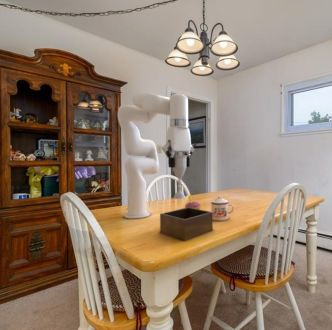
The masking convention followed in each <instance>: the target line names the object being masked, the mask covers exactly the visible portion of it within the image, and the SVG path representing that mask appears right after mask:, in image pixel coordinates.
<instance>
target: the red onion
mask: <svg viewBox="0 0 332 330" xmlns="http://www.w3.org/2000/svg"><path fill="white" fill-rule="evenodd" d="M189 201H190V202H187V203H186V204H185V206H184V208H187V207H189V208H194V209H199V210H201V208H202V207H201V206H202V205H201V204H200V203H199V202H198V201H192V195H191V194H189Z"/></svg>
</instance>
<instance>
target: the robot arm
mask: <svg viewBox="0 0 332 330" xmlns="http://www.w3.org/2000/svg"><path fill="white" fill-rule="evenodd" d="M131 99H132V104H122V105H120V106H119V107H118V109H117V121H118V124H119V127H120V128H121V132H122V135H123V142H124V148H125V152H126V154H127V155H129V156H132V157H129V158H127V159H126V160H125V163H124V169H125V174H126V183H127V185H126V186H127V187H126V188H127V189H126V191H127V207H126V211H127V212H126V213H124V218H126V219H130V220H131V219H143V218H146V217H148V216H150V215H151V213H150V211H148V197H147V196H148V194H147V193H148V192H147V185H148V184H147V180H146V179H145V177H143V176H146V175H155V174H157V173H158V172H159V170H160V161H159V156H158V151H157V146H156V143H155V142H154V140H152V139H147V138H142V137H141V132H140V129H139V128H138V127H137V125H136V124H135V123H143V124H149V123H151V122H153V120H154V119H155V117H156V116H157V115H158V114H159V115H164V116H169V127H167V130H166V136H165V138H166V139H165V144H164V145H163V146H162V147H161V149H162V151H163V152H164V154H165V156H166V158H167V159H168V163H167V164H168V168H171V169H173V168H174V167H175V158H173V157H174V155H175V154H176V153H182V154H183V156H187V158H186V168H189V167H190V165H191V164H190V162H191V161H190V158H191V157H192V155H193V154H194V151H195V147H193V145H192V140H191V139H192V137H191V132H190V128H189V127H190V123H189V98H188V96H187V95H185V94H181V93H174V94H173V93H172V94H171V95H170V96H169V97H168V96H163V95H159V94H155V93H151V92H150V93H149V92H145V91H144V92H143V91H138V92H136V93H134V94H133V95H132V97H131ZM134 122H135V123H134Z"/></svg>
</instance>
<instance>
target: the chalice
mask: <svg viewBox="0 0 332 330" xmlns="http://www.w3.org/2000/svg"><path fill="white" fill-rule="evenodd" d="M173 158H175V167H174V168H172V171H173V173H174V175H175V177H176V178H177V192H175V194H174V196H173V199H174V200H183V199H186V196H185V193H184V192H183V191H182V190H181V188H182V187H183V186H182V185H181V184H182V179H181V178H182V177H184V175H185V172H186V169H187V167H186V158H187V156H184V154H183V155H178V154H177V155H175V154H174V157H173Z"/></svg>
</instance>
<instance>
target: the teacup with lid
mask: <svg viewBox="0 0 332 330" xmlns="http://www.w3.org/2000/svg"><path fill="white" fill-rule="evenodd" d="M210 205H211V206H210V208H211V209H210V212H213V221H217V222H218V221H219V222H220V221H226V220H228V219H229V215H230V214H232V213H233V212H234V210H235V206H234V205H233V204H232V203H229V200H227V199H225V198H223V196H222V195H218V196H217V197H216V198H215V199H212V200H211V201H210ZM229 206H230V207H232V208H231V210H230V211H229Z"/></svg>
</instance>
